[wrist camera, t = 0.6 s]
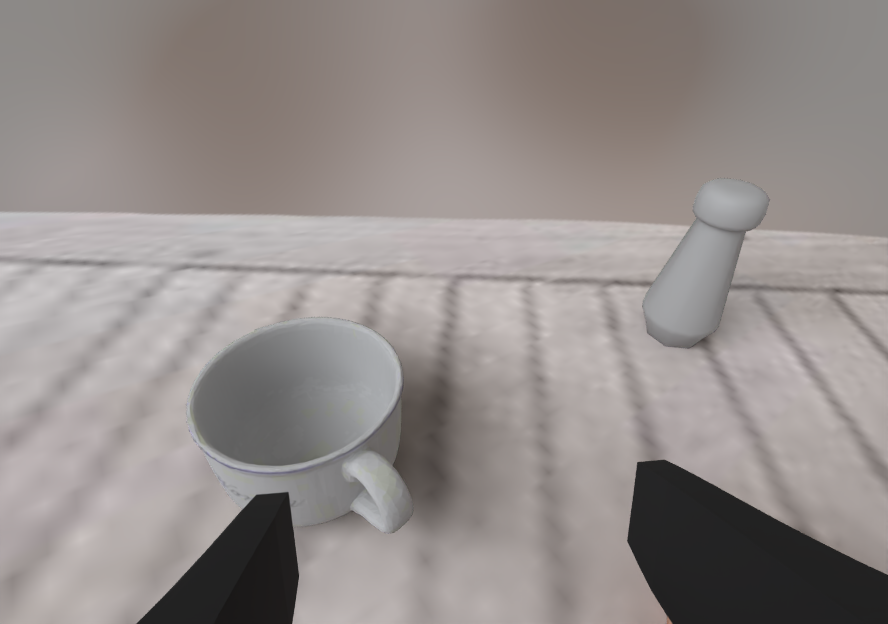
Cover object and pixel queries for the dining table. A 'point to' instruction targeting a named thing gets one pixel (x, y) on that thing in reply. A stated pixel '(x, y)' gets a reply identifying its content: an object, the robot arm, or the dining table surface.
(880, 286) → the dining table surface
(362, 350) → the teacup
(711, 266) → the salt shaker
